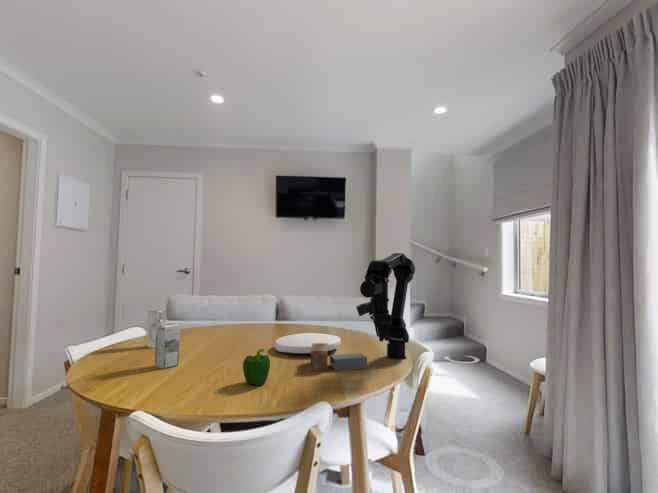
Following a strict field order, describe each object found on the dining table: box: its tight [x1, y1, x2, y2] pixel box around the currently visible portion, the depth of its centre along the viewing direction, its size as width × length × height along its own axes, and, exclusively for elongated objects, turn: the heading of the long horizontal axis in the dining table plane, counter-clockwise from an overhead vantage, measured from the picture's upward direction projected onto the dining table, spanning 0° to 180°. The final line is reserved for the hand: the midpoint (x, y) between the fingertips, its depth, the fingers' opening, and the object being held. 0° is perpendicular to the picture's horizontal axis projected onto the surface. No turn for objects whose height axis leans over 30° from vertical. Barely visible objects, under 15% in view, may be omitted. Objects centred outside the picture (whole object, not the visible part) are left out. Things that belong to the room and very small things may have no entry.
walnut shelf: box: [310, 343, 328, 372], centre depth 125 cm, size 6×11×7 cm, turn 0°
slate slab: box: [329, 352, 368, 371], centre depth 125 cm, size 12×6×4 cm, turn 106°
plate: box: [274, 332, 342, 354], centre depth 149 cm, size 28×6×27 cm
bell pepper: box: [242, 348, 271, 386], centre depth 107 cm, size 8×8×10 cm
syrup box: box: [154, 322, 181, 370], centre depth 123 cm, size 6×6×14 cm
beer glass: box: [146, 309, 166, 349], centre depth 151 cm, size 7×7×15 cm
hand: (379, 338), depth 125 cm, fingers open, 8 cm apart
